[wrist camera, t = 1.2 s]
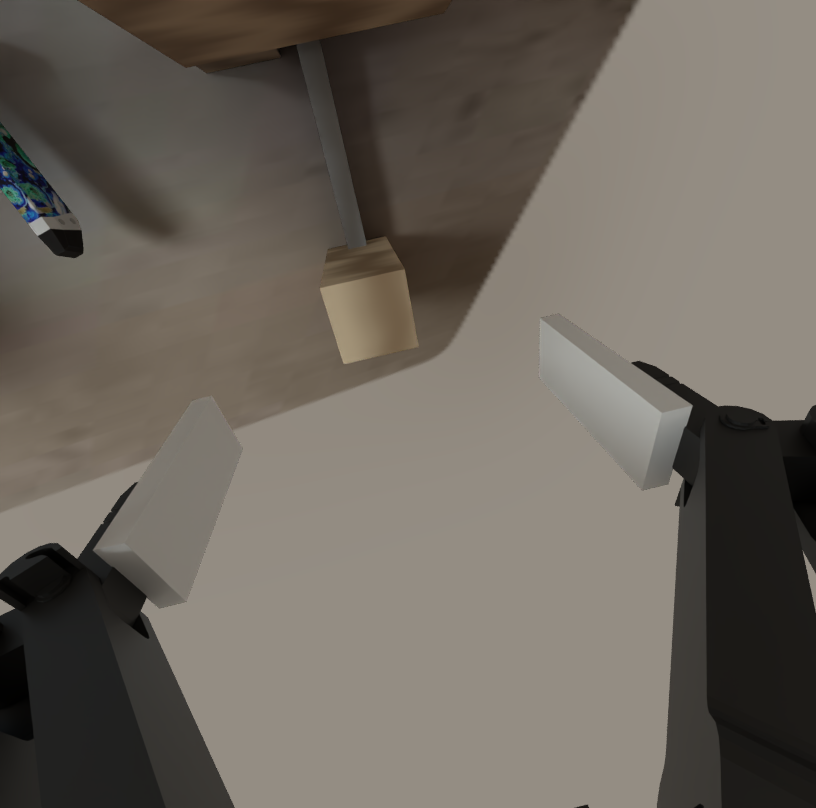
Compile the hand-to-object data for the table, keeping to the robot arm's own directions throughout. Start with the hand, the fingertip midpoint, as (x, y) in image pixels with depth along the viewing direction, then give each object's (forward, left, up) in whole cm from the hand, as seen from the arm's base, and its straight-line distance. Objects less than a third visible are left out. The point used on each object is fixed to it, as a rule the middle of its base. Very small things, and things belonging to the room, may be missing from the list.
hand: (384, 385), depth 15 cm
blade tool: (0, +8, -21) cm, 22 cm away
